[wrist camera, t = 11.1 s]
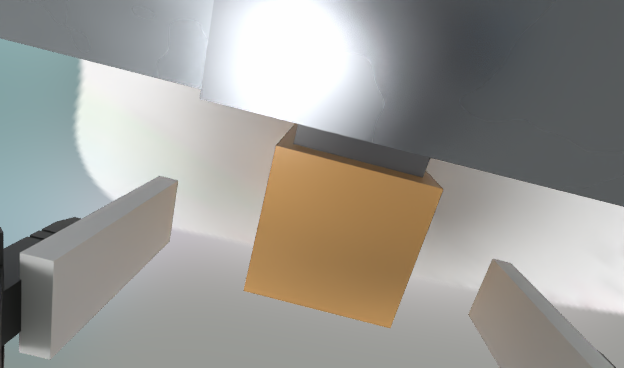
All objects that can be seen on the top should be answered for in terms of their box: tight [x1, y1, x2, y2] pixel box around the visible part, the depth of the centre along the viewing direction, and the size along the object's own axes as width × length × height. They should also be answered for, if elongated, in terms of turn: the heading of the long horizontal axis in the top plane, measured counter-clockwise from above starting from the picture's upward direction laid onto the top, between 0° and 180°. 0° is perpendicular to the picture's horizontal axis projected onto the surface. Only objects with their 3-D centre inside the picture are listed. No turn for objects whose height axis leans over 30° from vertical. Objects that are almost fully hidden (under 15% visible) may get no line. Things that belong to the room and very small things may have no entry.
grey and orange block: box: [244, 123, 443, 328], centre depth 15 cm, size 21×6×9 cm, turn 166°
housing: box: [0, 0, 624, 207], centre depth 12 cm, size 18×4×16 cm, turn 76°
